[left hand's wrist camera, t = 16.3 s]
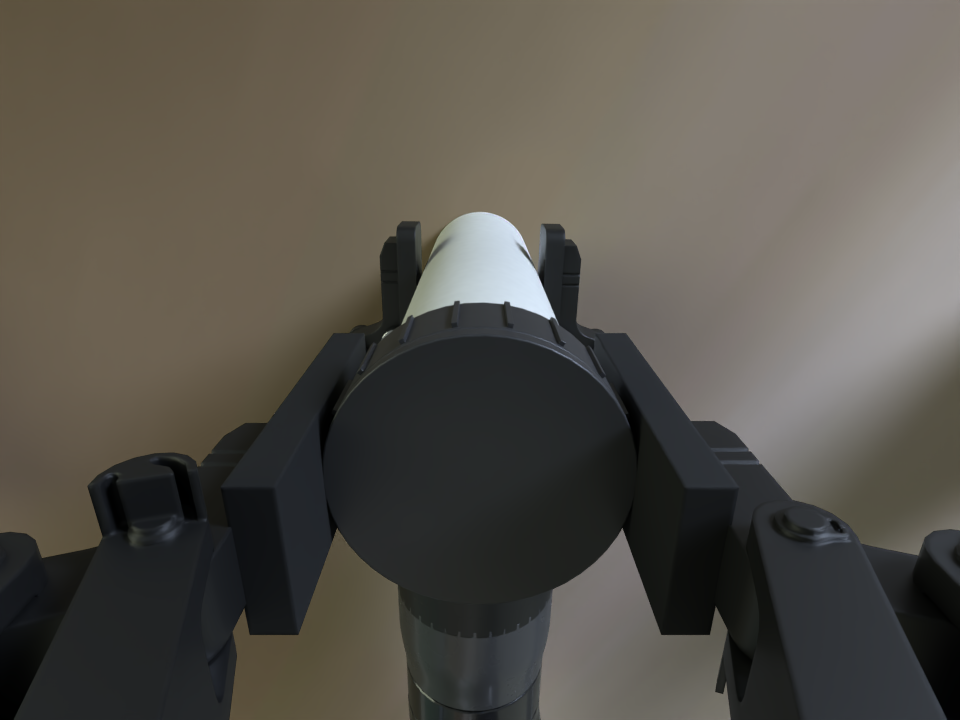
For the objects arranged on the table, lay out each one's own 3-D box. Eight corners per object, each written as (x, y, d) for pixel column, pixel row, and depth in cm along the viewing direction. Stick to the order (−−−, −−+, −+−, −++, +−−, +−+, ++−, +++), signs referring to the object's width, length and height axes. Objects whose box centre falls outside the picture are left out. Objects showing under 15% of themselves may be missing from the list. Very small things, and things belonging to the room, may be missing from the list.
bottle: (414, 244, 28) (303, 428, 11) (496, 192, 27) (526, 297, 10) (464, 322, 30) (442, 597, 12) (544, 275, 29) (647, 498, 11)
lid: (387, 563, 13) (372, 631, 12) (301, 334, 11) (268, 373, 9) (634, 515, 13) (660, 578, 11) (592, 267, 11) (616, 294, 9)
